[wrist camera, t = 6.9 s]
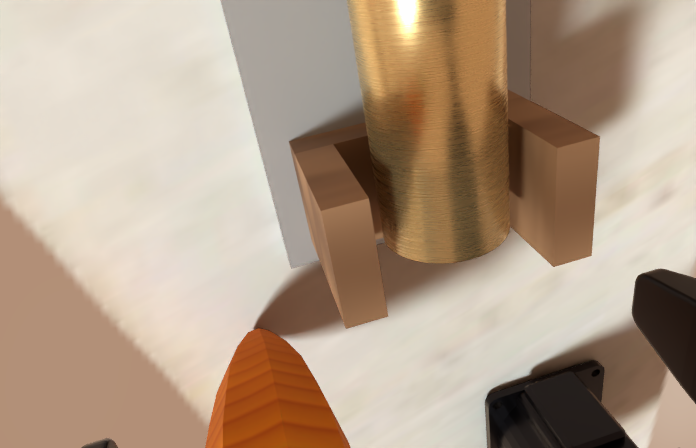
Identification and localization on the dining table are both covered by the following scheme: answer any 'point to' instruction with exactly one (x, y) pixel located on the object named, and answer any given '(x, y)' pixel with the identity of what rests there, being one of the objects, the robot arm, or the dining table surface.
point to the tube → (436, 122)
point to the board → (318, 86)
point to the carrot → (271, 400)
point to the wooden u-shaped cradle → (524, 198)
